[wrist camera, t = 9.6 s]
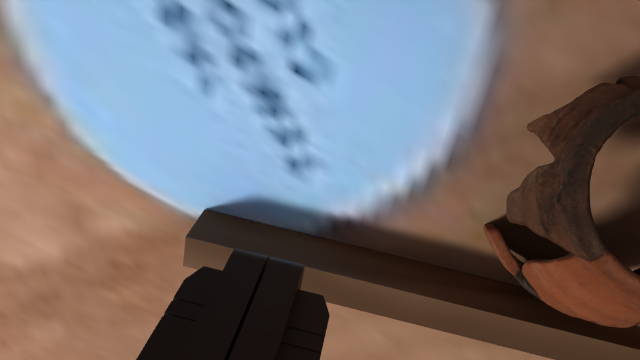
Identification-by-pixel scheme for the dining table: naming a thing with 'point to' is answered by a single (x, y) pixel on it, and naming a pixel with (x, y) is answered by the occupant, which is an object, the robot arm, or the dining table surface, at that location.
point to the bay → (414, 291)
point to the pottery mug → (574, 212)
